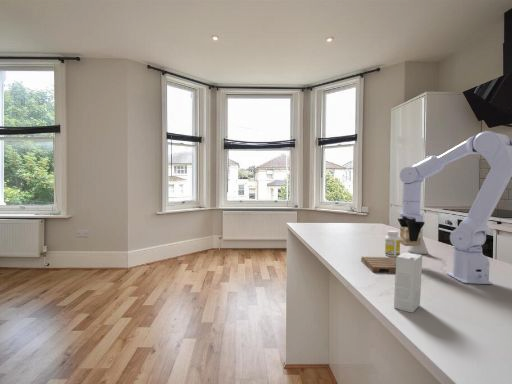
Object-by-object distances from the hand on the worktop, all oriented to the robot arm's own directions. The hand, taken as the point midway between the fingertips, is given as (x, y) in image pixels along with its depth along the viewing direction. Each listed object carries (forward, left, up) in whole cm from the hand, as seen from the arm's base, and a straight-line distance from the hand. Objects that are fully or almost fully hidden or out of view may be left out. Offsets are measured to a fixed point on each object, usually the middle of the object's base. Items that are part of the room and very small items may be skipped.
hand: (410, 239), depth 109 cm
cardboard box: (0, 0, -2) cm, 2 cm away
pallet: (-5, +10, -9) cm, 14 cm away
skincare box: (-39, +17, -9) cm, 44 cm away
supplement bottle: (+13, +1, -9) cm, 16 cm away
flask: (+20, -12, -9) cm, 25 cm away
